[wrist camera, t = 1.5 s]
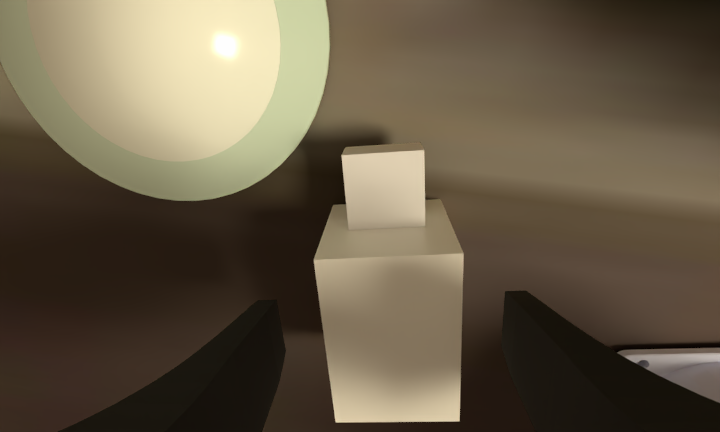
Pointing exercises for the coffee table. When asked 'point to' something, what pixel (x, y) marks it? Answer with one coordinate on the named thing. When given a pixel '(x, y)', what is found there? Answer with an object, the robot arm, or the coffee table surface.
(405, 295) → the connector
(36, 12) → the coaster
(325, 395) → the coffee table surface
